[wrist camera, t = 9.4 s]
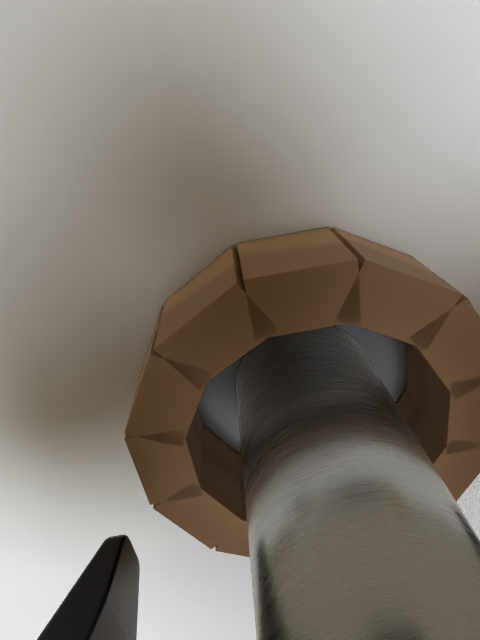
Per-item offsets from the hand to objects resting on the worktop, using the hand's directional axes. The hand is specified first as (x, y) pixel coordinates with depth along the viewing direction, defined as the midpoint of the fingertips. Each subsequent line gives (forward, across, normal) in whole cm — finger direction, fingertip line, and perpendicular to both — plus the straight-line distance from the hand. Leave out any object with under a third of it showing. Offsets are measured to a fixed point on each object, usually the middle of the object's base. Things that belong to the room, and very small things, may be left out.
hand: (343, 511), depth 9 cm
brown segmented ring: (+4, 0, 0) cm, 4 cm away
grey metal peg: (+4, 0, 0) cm, 5 cm away
